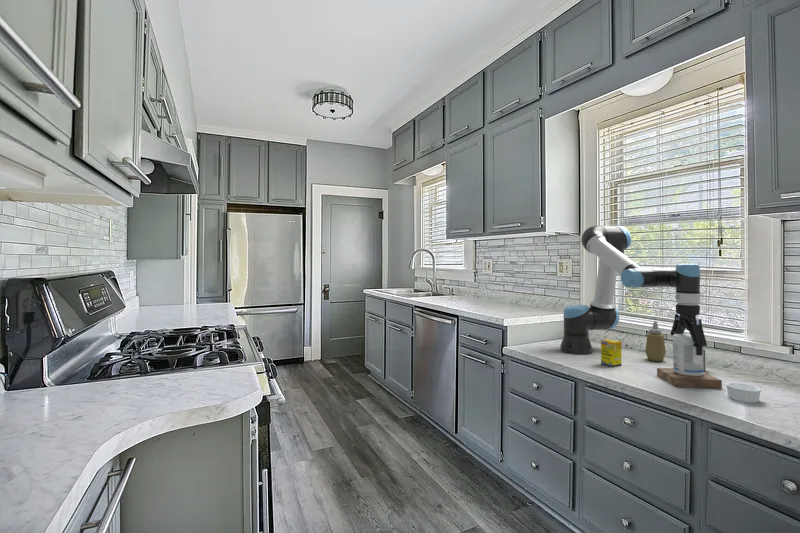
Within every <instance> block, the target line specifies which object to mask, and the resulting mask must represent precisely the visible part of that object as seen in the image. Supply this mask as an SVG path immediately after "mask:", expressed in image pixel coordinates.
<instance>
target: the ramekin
mask: <svg viewBox="0 0 800 533" xmlns="http://www.w3.org/2000/svg"><path fill="white" fill-rule="evenodd" d="M725 385H726V390H727V397H728V398H730V399H731V400H734V401H738V402H741V403H748V404H756V403H759V402H760V396H761V392H762V389H761V388H760V387H758V386H755V385H753V384H748V383H742V382H727V383H726V384H725Z"/></svg>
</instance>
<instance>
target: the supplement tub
mask: <svg viewBox="0 0 800 533" xmlns="http://www.w3.org/2000/svg"><path fill="white" fill-rule="evenodd" d="M693 345H694V342H693V340H692V337H691V335H690V333H683V334H674V335H672V362H673V363H672V366H673V367H672V368H673V370H674V372H675V373H677V374H680V375H685V376H695V377H696V376H702V375H703V374H704V372H705V371H704V354H703V349H704V346H703V347H702V364H693Z"/></svg>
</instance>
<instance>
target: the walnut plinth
mask: <svg viewBox="0 0 800 533" xmlns="http://www.w3.org/2000/svg"><path fill="white" fill-rule="evenodd" d="M656 376H657V377H659V378H661V379H663V380H664V381H666V382H668V383H669V384H671V385H672V386H674V387H676V388H691V389H692V388H695V389H719V390H720V389H723V388H722V387H723V380H722V379H719V378H717V377H715V376H713V375H711V374H709V373H708V372H705V371H704V374H703V375H702V376H696V377H695V376H685V375H680V374H677V373H675V372H674V370H673V367H672V368H671V367H669V368H668V367H657V368H656Z"/></svg>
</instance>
